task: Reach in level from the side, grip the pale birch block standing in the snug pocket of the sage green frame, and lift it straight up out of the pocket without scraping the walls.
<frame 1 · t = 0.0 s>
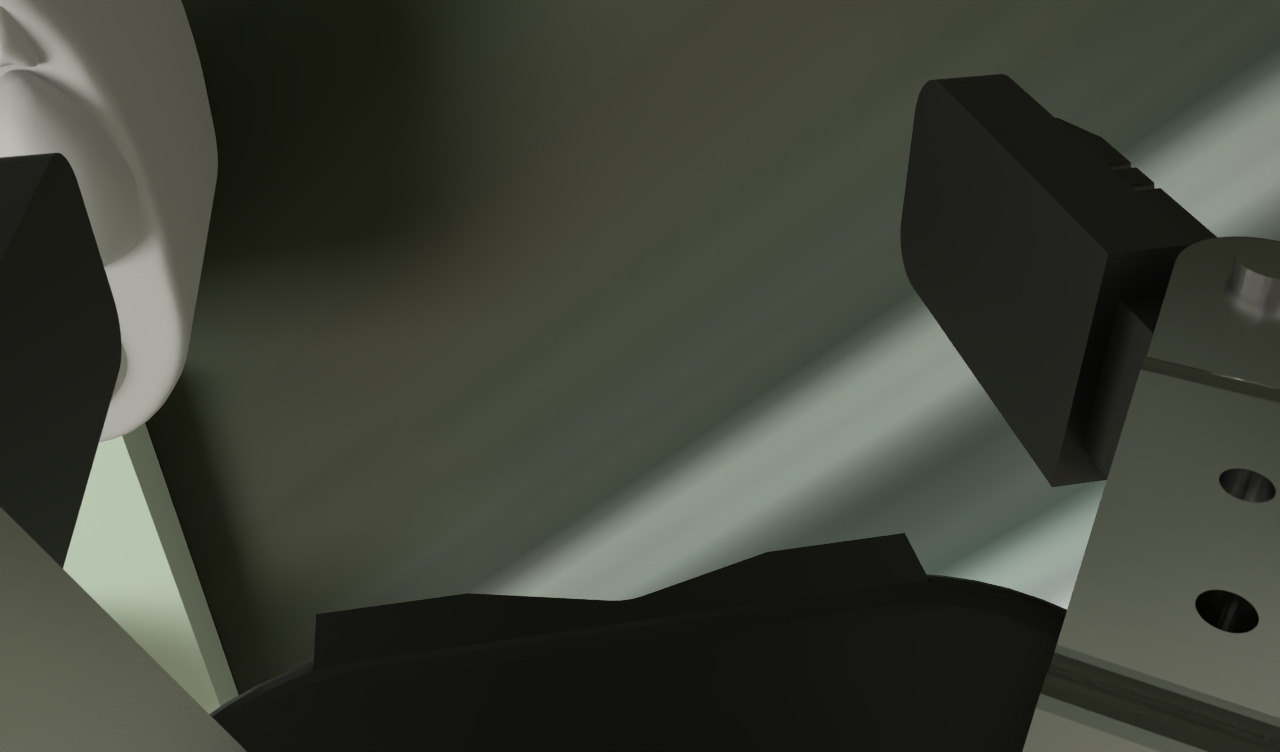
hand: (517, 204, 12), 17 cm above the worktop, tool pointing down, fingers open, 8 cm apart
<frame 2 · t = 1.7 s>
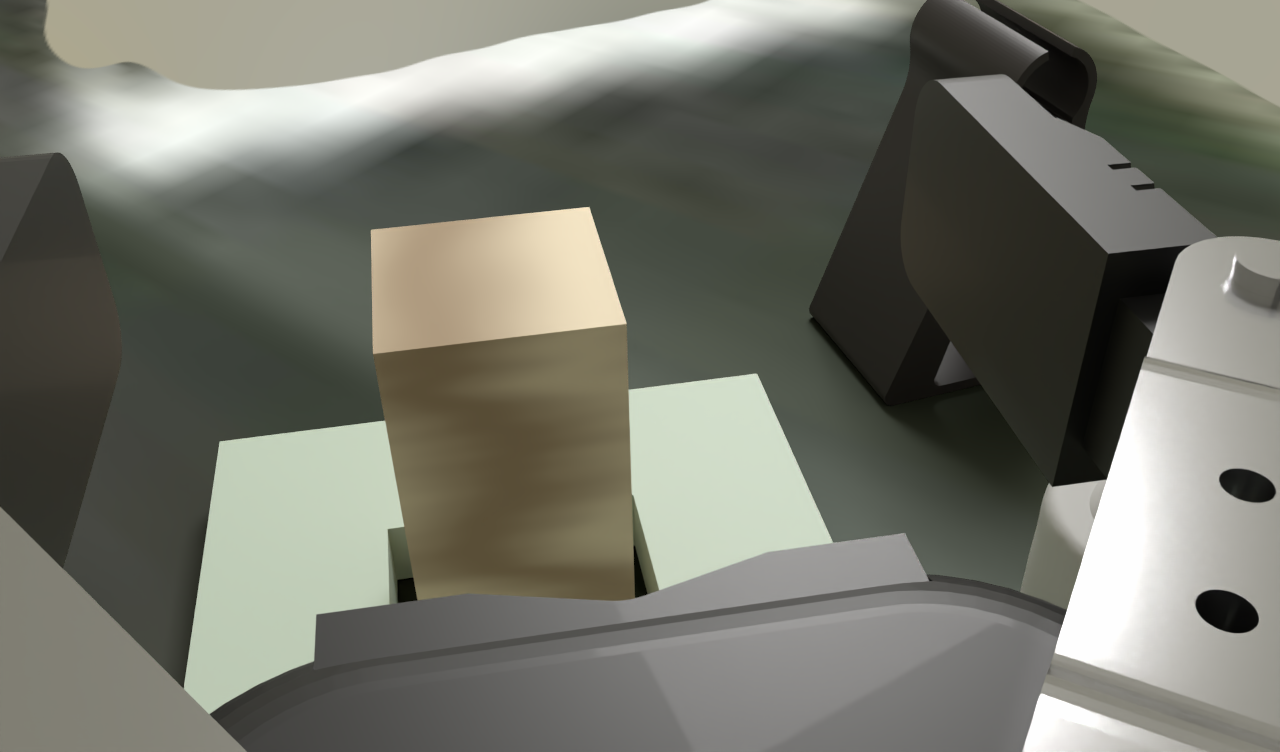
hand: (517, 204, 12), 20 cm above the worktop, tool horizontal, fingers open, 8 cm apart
birch block: (513, 486, 30), in the pocket frame
phone stand: (953, 340, 45), on the worktop
pocket frame: (530, 652, 33), on the worktop
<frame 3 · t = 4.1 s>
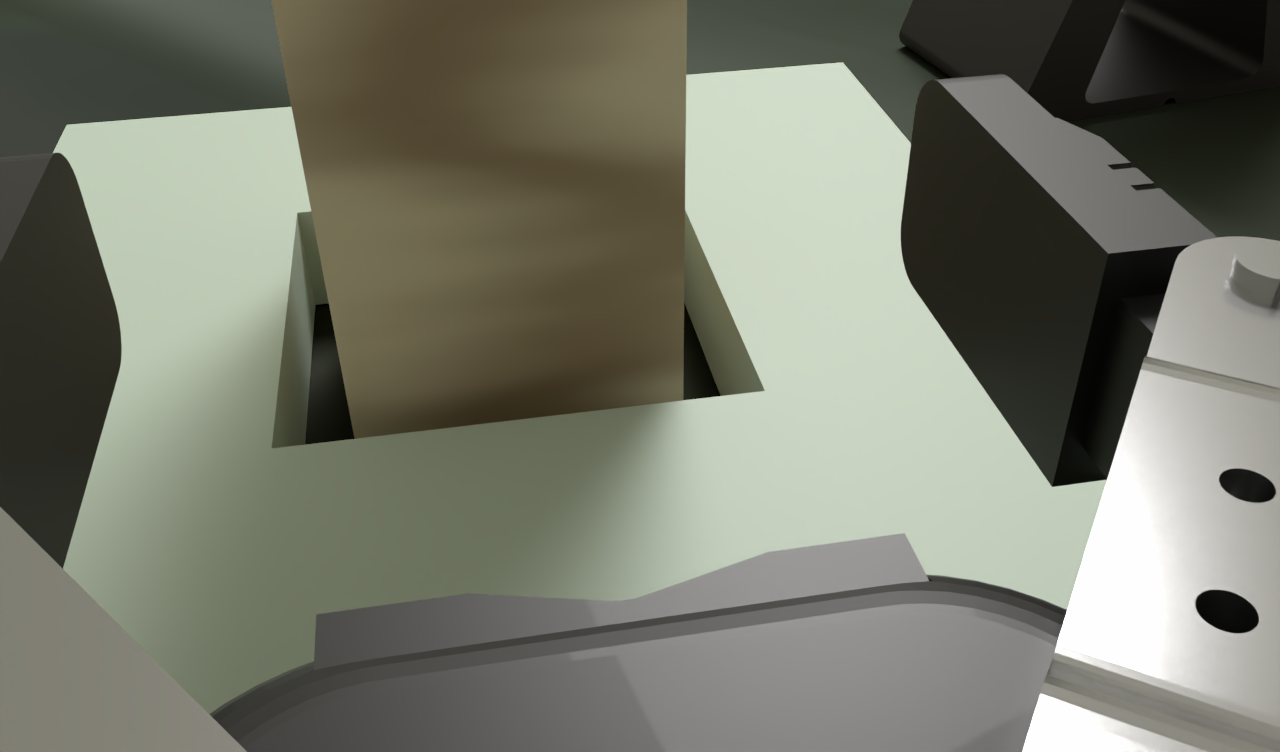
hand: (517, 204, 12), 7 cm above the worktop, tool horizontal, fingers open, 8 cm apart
birch block: (482, 59, 18), in the pocket frame
phone stand: (1096, 70, 33), on the worktop
pocket frame: (512, 389, 21), on the worktop
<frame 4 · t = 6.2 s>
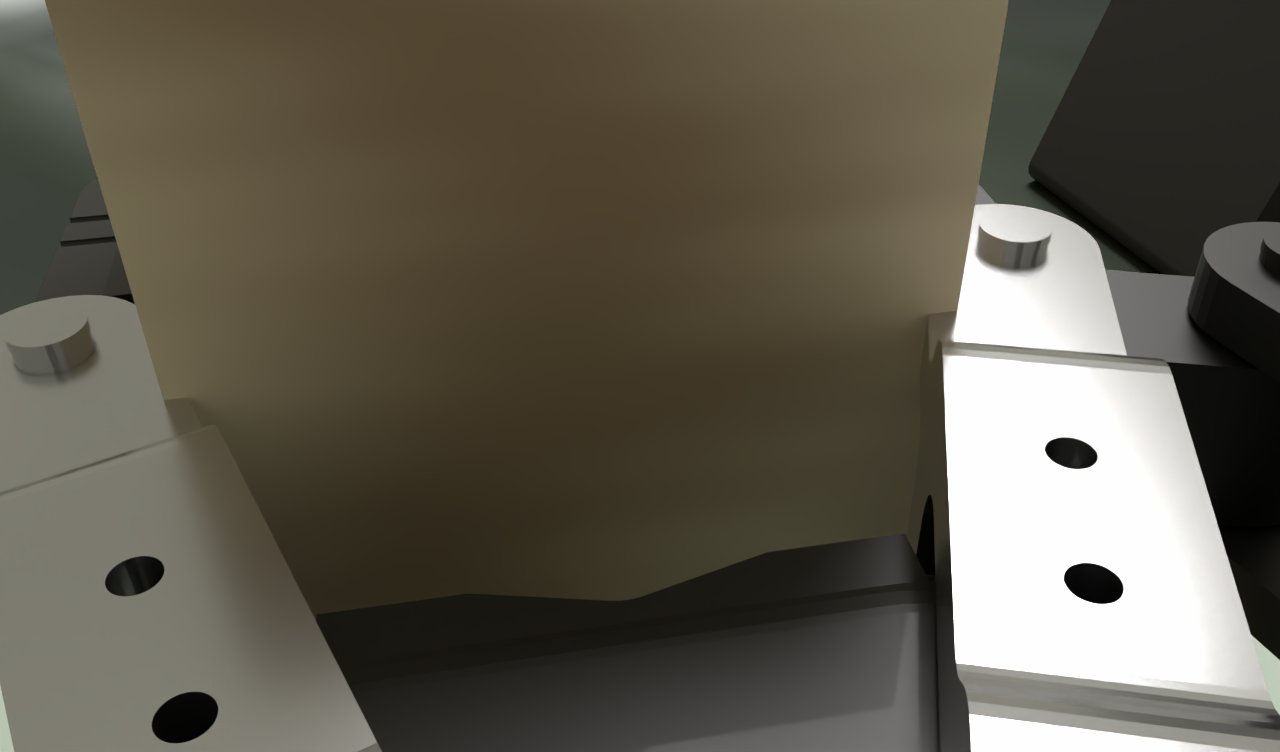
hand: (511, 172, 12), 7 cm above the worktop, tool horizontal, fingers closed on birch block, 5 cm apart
birch block: (549, 403, 11), in the pocket frame, touching gripper
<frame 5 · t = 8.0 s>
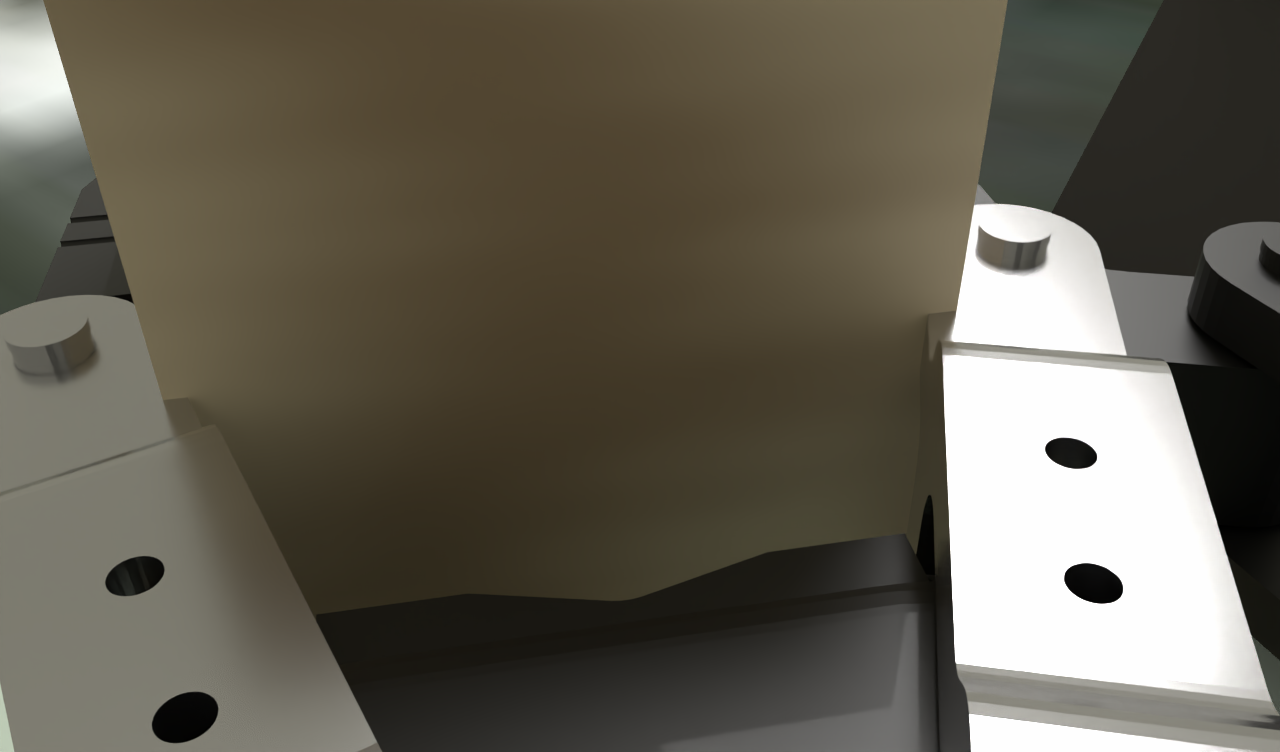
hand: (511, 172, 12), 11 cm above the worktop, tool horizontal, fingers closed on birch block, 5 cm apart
birch block: (549, 404, 11), point 10 cm above the worktop, touching gripper
phone stand: (1217, 385, 29), on the worktop
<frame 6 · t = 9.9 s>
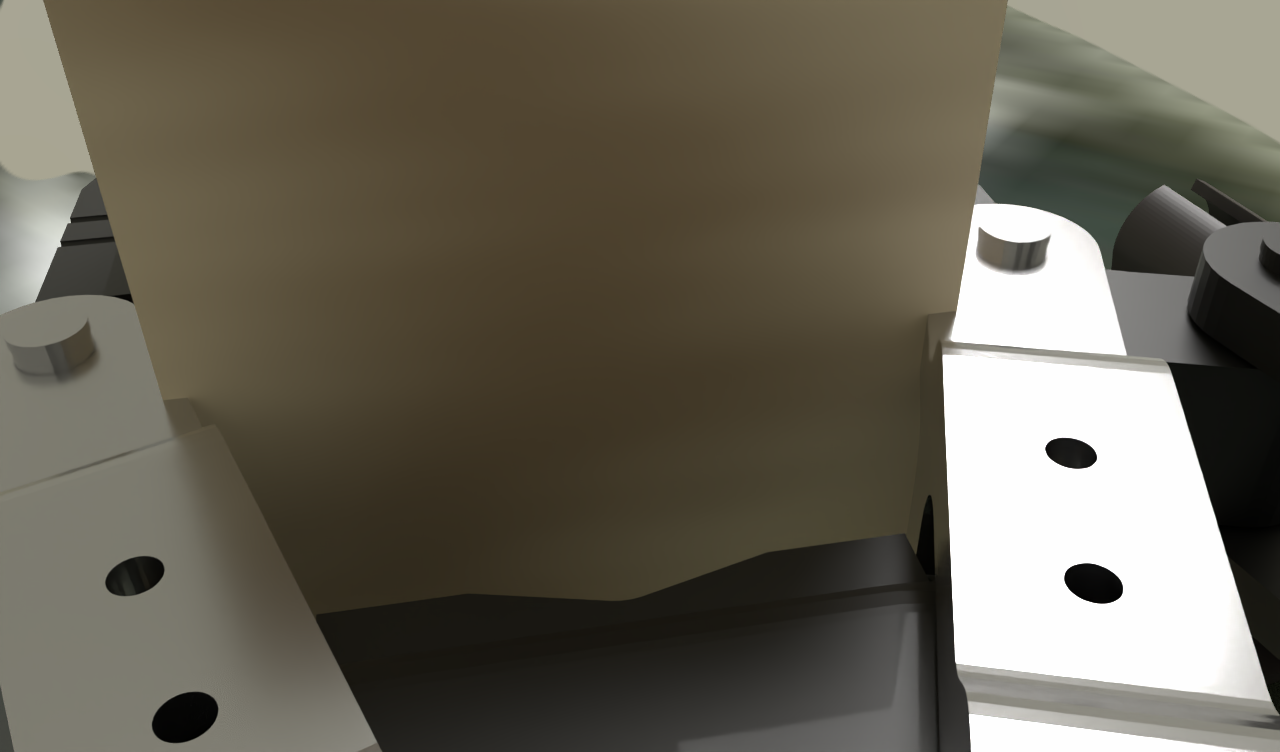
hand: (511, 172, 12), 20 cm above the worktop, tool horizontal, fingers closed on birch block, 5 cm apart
birch block: (549, 403, 11), point 19 cm above the worktop, touching gripper
phone stand: (1142, 624, 34), on the worktop
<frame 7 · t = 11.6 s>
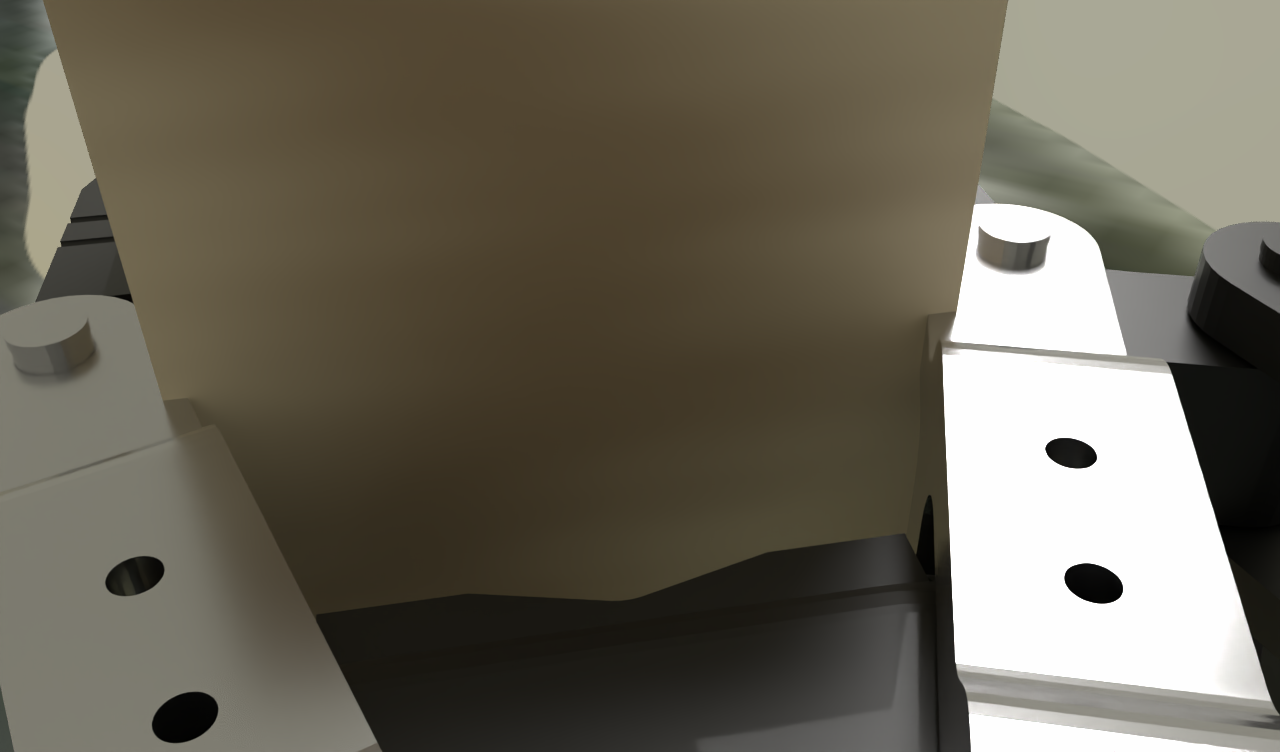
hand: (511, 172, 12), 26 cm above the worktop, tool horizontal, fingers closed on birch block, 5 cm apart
birch block: (549, 403, 11), point 25 cm above the worktop, touching gripper
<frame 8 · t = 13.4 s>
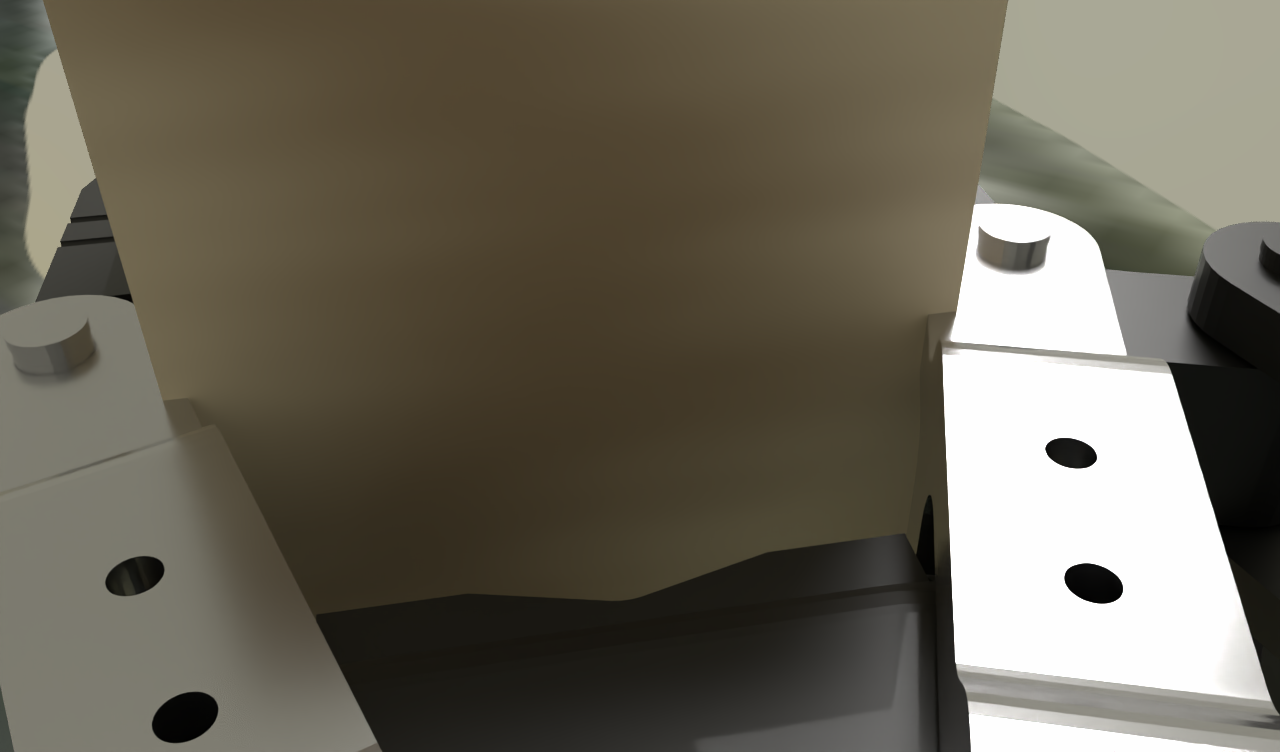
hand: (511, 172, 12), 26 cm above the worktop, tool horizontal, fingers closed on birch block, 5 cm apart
birch block: (549, 403, 11), point 25 cm above the worktop, touching gripper
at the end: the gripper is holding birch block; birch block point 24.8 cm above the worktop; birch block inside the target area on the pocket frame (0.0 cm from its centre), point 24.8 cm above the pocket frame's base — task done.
